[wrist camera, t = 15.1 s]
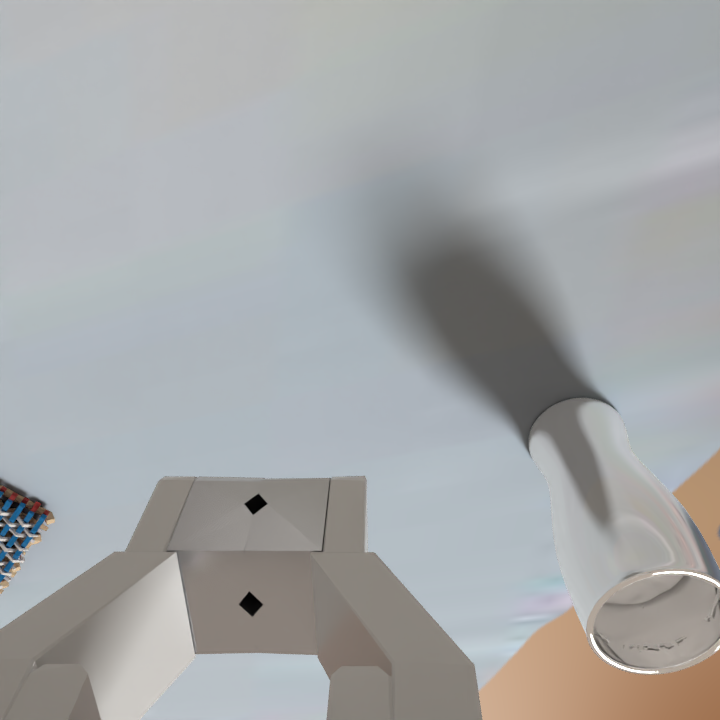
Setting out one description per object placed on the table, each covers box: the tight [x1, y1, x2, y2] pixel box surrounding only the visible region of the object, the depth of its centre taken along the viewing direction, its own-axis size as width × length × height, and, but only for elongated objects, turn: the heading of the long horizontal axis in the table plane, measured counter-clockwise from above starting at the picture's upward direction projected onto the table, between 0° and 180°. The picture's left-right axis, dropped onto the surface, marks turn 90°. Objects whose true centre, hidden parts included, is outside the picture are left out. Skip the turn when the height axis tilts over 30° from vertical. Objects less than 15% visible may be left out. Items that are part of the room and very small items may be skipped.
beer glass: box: [528, 398, 720, 674], centre depth 37 cm, size 7×7×15 cm
